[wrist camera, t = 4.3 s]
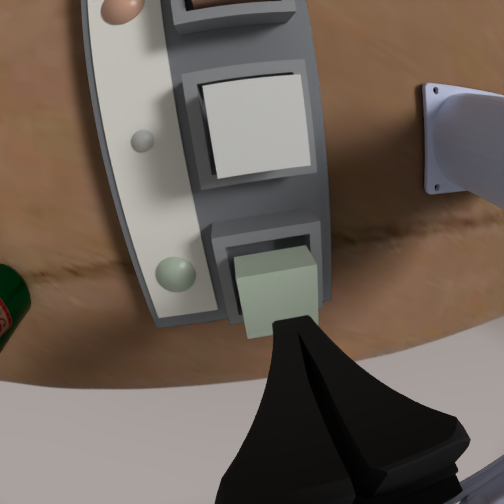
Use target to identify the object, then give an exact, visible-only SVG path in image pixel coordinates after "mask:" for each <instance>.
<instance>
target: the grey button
mask: <svg viewBox="0 0 504 504" xmlns="http://www.w3.org/2000/svg"><path fill="white" fill-rule="evenodd" d="M202 87H203V93H204V99H205V106H206V112H207V118H208V124H209V130H210V136H211V142H212V148H213V154H214V160H215V166H216V171H217V177H218V179H220V178H226V177H232V176H238V175H244V174H251V173H257V172H264V171H271V170H278V169H286V168H293V167H302V166H310V165H311V163H310V152H309V142H308V132H307V123H306V114H305V105H304V97H303V89H302V82H301V74H298V75H283V76H271V77H261V78H252V79H244V80H237V81H230V82H223V83H217V84H211V85H205V86H202Z"/></svg>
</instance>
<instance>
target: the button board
mask: <svg viewBox="0 0 504 504" xmlns="http://www.w3.org/2000/svg"><path fill="white" fill-rule="evenodd" d="M161 8H162V16H163V24H164V31H165V39H166V46H167V53H168V60H169V66H170V73H171V79H172V85H173V92H174V98H175V104H176V110H177V115H178V121H179V127H180V132H181V138H182V143H183V149H184V154H185V159H186V165H187V170H188V175H189V180H190V185H191V190H192V195H193V200H194V204H195V209H196V214H197V219H198V223H199V228H200V233H201V237H202V242H203V246H204V251H205V255H206V259H207V264H208V268H209V272H210V277H211V281H212V285H213V289H214V293H215V298H216V302H217V306H218V310H213V311H206V312H199V313H192V314H185V315H178V316H171V317H163V318H159V317H158V315H157V312H156V310H155V307H154V304H153V301H152V299H151V296H150V293H149V290H148V287H147V285H146V282H145V279H144V276H143V273H142V270H141V267H140V264H139V261H138V258H137V255H136V251H135V248H134V245H133V242H132V238H131V235H130V232H129V228H128V225H127V222H126V218H125V215H124V211H123V207H122V204H121V200H120V196H119V192H118V188H117V185H116V181H115V176H114V172H113V168H112V164H111V160H110V155H109V151H108V146H107V141H106V136H105V132H104V127H103V121H102V116H101V110H100V105H99V99H98V93H97V86H96V80H95V73H94V65H93V57H92V49H91V39H90V28H89V15H88V0H81V14H82V28H83V40H84V49H85V58H86V66H87V74H88V81H89V88H90V94H91V100H92V106H93V112H94V117H95V123H96V128H97V133H98V138H99V142H100V147H101V152H102V156H103V160H104V165H105V169H106V173H107V177H108V181H109V185H110V189H111V193H112V196H113V200H114V204H115V207H116V211H117V215H118V218H119V221H120V225H121V228H122V231H123V235H124V238H125V241H126V244H127V248H128V251H129V254H130V257H131V260H132V263H133V266H134V269H135V272H136V275H137V277H138V280H139V283H140V286H141V289H142V291H143V294H144V297H145V300H146V302H147V305H148V308H149V310H150V313H151V315H152V318H153V320H154V323H155V325H156V328H164V327H172V326H180V325H188V324H195V323H202V322H209V321H216V320H223V319H229V322H230V325H232V324H238V323H245V322H244V317H243V312H242V307H241V302H240V297H239V292H238V287H237V281H236V274H235V264H234V257H238V256H244V255H250V254H256V253H262V252H268V251H274V250H280V249H286V248H292V247H298V246H304V245H306V246H307V248H308V250H309V251H310V253H311V255H312V257H313V258H314V260H315V262H316V264H317V279H318V309H321V308H323V302H324V301H329V300H332V264H331V224H330V201H329V183H328V168H327V154H326V142H325V131H324V121H323V111H322V102H321V94H320V86H319V78H318V70H317V63H316V56H315V50H314V43H313V37H312V31H311V25H310V19H309V14H308V8H307V3H306V0H270V1H267V2H252V3H241V4H231V5H223V6H216V7H209V8H203V9H197V10H194V7H193V3H192V0H161ZM298 74H301V82H302V89H303V97H304V105H305V114H306V123H307V132H308V142H309V152H310V163H311V165H310V166H302V167H293V168H286V169H278V170H271V171H264V172H257V173H251V174H244V175H238V176H232V177H226V178H220V179H218V177H217V171H216V166H215V160H214V154H213V148H212V142H211V136H210V130H209V124H208V118H207V112H206V106H205V99H204V93H203V87H202V86H205V85H211V84H217V83H223V82H230V81H237V80H244V79H252V78H261V77H271V76H283V75H298Z"/></svg>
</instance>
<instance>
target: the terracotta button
mask: <svg viewBox="0 0 504 504" xmlns="http://www.w3.org/2000/svg"><path fill="white" fill-rule="evenodd" d="M267 1H270V0H192V3H193V7H194V10H197V9H203V8H209V7H216V6H223V5H231V4H241V3H252V2H267Z"/></svg>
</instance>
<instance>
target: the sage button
mask: <svg viewBox="0 0 504 504" xmlns="http://www.w3.org/2000/svg"><path fill="white" fill-rule="evenodd" d="M234 264H235V274H236V281H237V287H238V292H239V297H240V302H241V307H242V312H243V317H244V322H245V327H246V332H247V337H248V339H251V338H257V337H263V336H269V335H273V329H272V323H273V322H274V321H277V320H282V319H288V318H294V317H299V316H304V315H309V316H310V317H311V318H312V319H313V320H314V321H315V323H316V324H317V325H318V279H317V264H316V262H315V260H314V258H313V257H312V255H311V253H310V251H309V250H308V248H307V246H306V245H304V246H298V247H292V248H286V249H280V250H274V251H268V252H262V253H256V254H250V255H244V256H238V257H234Z"/></svg>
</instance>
